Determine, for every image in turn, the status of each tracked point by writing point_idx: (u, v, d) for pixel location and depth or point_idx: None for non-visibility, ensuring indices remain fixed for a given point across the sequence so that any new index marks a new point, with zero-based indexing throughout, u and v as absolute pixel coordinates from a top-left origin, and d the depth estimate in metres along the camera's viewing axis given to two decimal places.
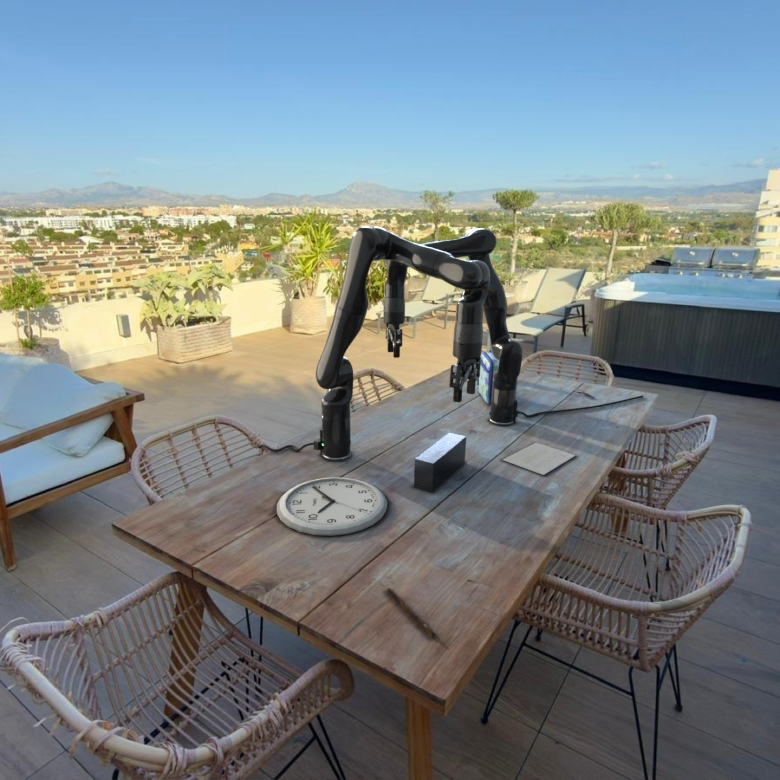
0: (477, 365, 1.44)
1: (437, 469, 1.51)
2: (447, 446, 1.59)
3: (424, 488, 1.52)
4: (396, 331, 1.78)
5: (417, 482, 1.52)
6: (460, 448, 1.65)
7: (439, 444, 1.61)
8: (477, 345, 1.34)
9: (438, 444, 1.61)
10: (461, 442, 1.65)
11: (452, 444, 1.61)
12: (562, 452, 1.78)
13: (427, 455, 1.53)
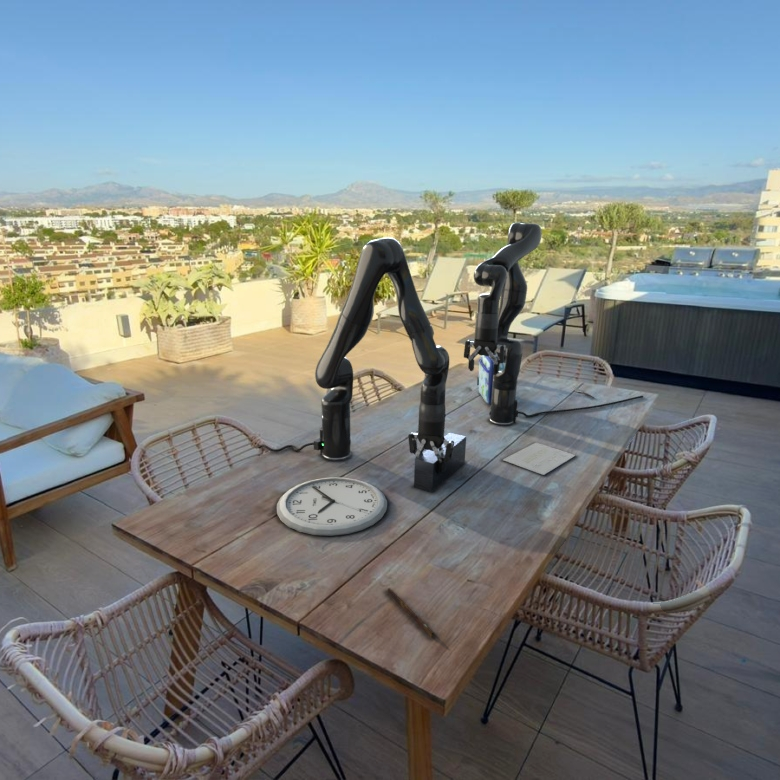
0: (415, 440, 1.55)
1: None
2: None
3: (424, 488, 1.52)
4: None
5: (417, 482, 1.52)
6: (460, 448, 1.65)
7: None
8: None
9: None
10: (461, 442, 1.65)
11: None
12: (562, 452, 1.78)
13: (427, 455, 1.53)
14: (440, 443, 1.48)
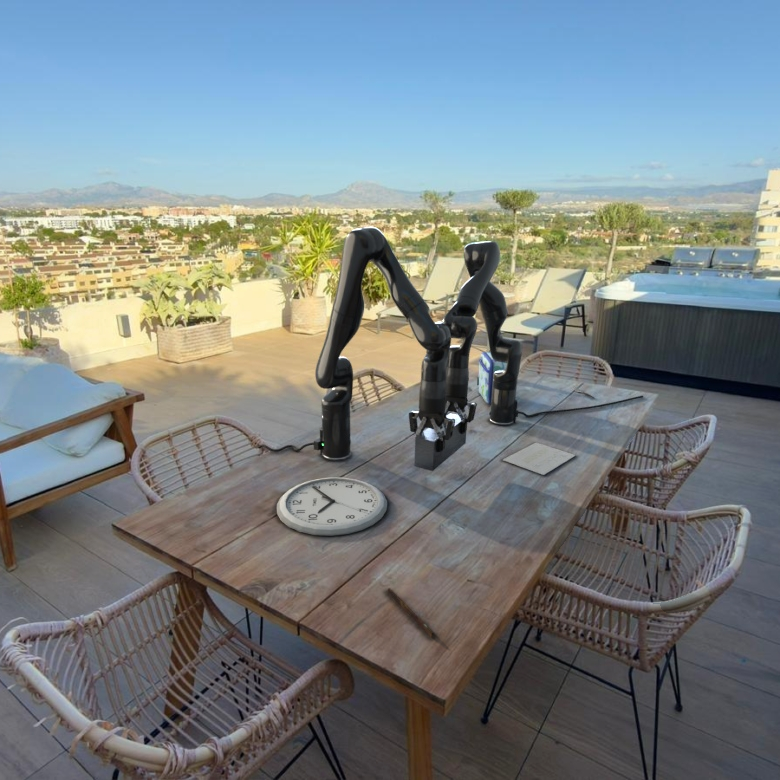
0: (416, 418, 1.53)
1: None
2: None
3: (425, 467, 1.50)
4: None
5: (418, 461, 1.50)
6: None
7: None
8: None
9: None
10: None
11: None
12: (562, 452, 1.78)
13: (428, 434, 1.51)
14: (441, 421, 1.46)
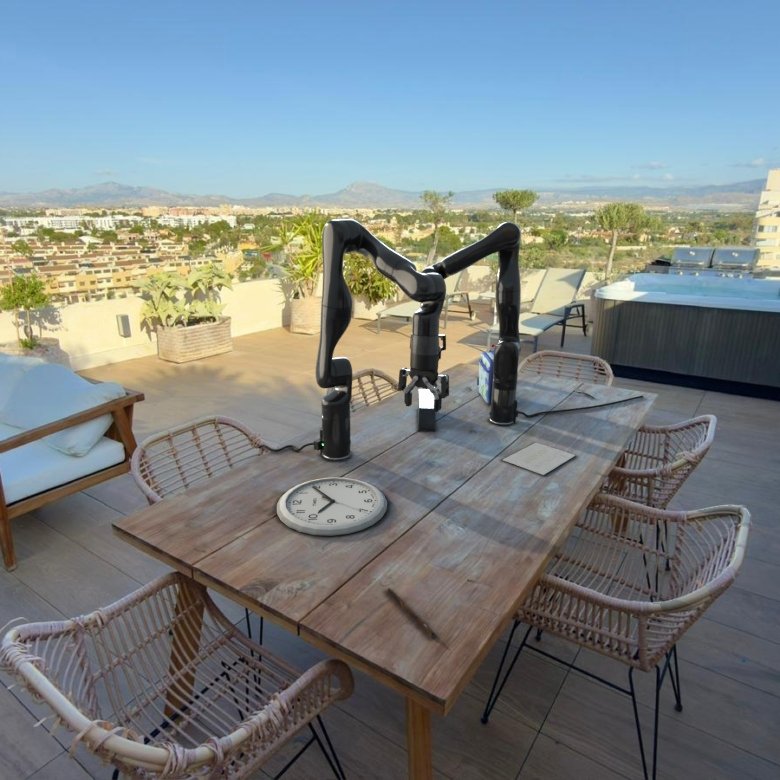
0: (406, 376, 1.44)
1: None
2: (430, 397, 2.05)
3: (427, 429, 1.96)
4: None
5: (421, 426, 1.95)
6: None
7: (422, 397, 2.05)
8: None
9: (422, 397, 2.05)
10: None
11: (431, 395, 2.08)
12: (562, 452, 1.78)
13: (425, 405, 1.97)
14: (433, 379, 1.37)
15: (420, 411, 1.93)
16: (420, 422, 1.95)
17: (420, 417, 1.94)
